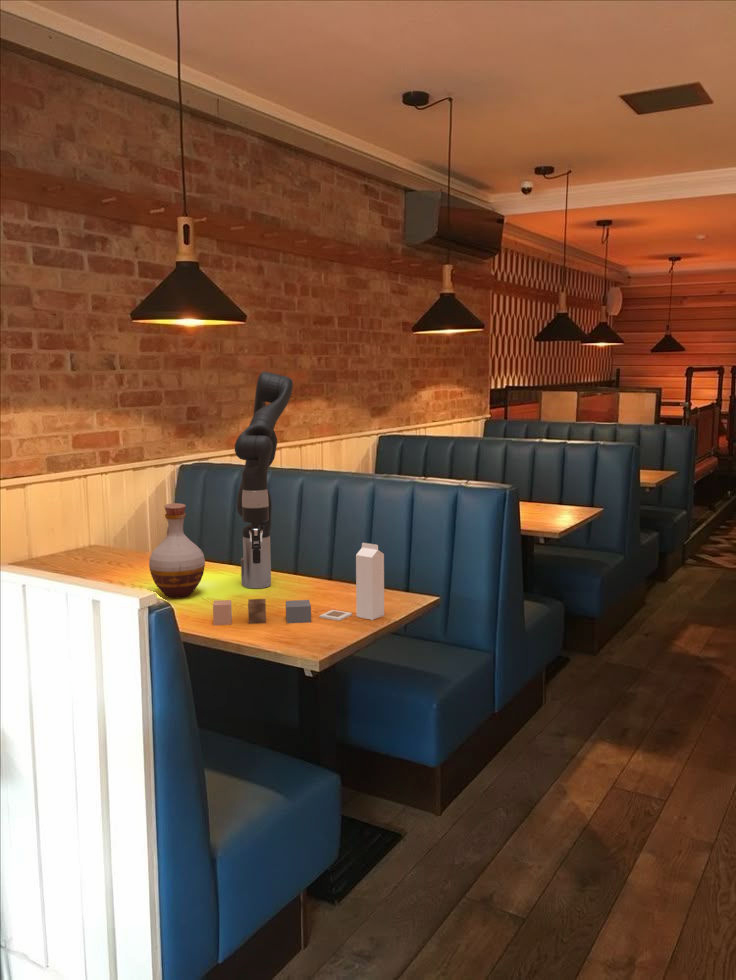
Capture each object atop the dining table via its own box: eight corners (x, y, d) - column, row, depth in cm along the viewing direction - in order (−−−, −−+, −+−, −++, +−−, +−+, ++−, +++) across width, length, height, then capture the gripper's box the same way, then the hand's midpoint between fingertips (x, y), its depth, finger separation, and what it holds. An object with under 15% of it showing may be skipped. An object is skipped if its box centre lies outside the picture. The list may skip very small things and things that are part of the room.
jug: (143, 591, 279) (139, 502, 274) (196, 584, 287) (193, 498, 283) (157, 605, 261) (153, 510, 257) (212, 597, 269) (209, 506, 265)
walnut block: (248, 624, 241) (248, 603, 240) (248, 619, 246) (248, 599, 245) (266, 623, 242) (265, 603, 241) (265, 618, 247) (265, 598, 246)
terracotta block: (213, 625, 240) (212, 605, 239) (214, 620, 245) (214, 600, 244) (231, 624, 240) (230, 604, 240) (231, 619, 245) (231, 600, 245)
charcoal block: (287, 623, 241) (286, 607, 241) (285, 617, 248) (285, 600, 247) (311, 622, 242) (310, 606, 242) (309, 616, 249) (309, 599, 248)
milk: (368, 612, 252) (368, 540, 249) (384, 615, 248) (384, 543, 246) (356, 616, 247) (355, 544, 244) (372, 620, 244) (371, 546, 241)
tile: (319, 617, 247) (319, 614, 247) (332, 611, 253) (332, 609, 253) (339, 620, 243) (339, 618, 243) (351, 614, 249) (351, 612, 249)
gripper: (268, 508, 233) (270, 565, 235) (268, 500, 247) (269, 554, 249) (241, 509, 232) (243, 566, 234) (242, 501, 246) (244, 555, 248)
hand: (256, 560), depth 241 cm, fingers open, 8 cm apart
